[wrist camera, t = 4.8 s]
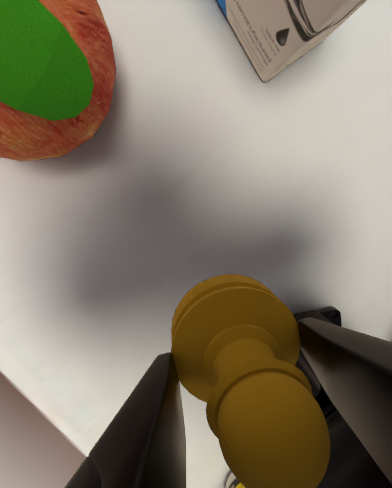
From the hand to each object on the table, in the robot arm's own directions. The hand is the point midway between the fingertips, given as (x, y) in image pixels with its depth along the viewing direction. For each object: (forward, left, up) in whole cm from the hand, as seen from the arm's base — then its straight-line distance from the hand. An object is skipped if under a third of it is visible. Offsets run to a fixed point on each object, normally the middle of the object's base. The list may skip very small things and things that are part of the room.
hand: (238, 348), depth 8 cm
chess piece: (0, 0, -1) cm, 1 cm away
